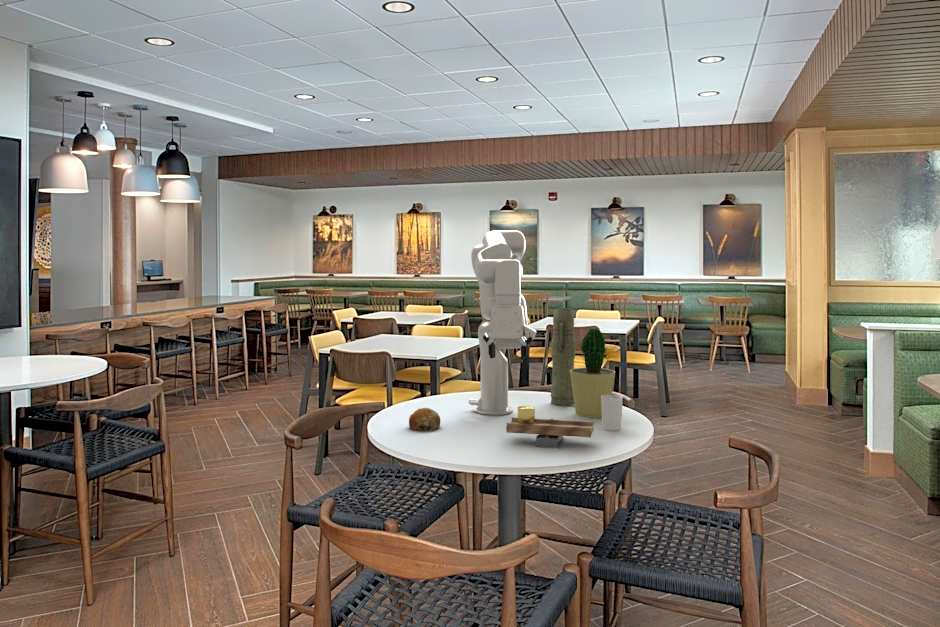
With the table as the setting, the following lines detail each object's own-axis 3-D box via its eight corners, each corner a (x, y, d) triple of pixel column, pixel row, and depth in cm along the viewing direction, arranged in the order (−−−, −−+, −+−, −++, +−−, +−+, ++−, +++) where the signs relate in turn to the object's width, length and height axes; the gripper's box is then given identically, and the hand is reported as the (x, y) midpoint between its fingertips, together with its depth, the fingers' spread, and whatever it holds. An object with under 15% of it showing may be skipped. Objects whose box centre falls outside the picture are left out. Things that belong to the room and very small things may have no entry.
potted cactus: (566, 408, 252) (567, 324, 250) (610, 409, 252) (611, 324, 249) (571, 418, 237) (572, 328, 234) (618, 418, 236) (619, 328, 234)
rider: (516, 426, 206) (516, 408, 205) (519, 422, 210) (519, 405, 210) (533, 426, 204) (533, 409, 204) (536, 423, 209) (536, 406, 209)
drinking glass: (609, 431, 218) (610, 399, 218) (596, 427, 224) (596, 395, 223) (626, 429, 221) (627, 397, 221) (613, 424, 227) (613, 394, 227)
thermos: (575, 400, 267) (576, 307, 264) (574, 406, 255) (575, 309, 253) (551, 399, 268) (552, 307, 266) (549, 406, 257) (550, 309, 254)
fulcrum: (536, 446, 201) (536, 436, 201) (543, 436, 212) (543, 426, 212) (557, 448, 199) (557, 437, 199) (563, 437, 211) (563, 427, 211)
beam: (506, 432, 204) (506, 422, 204) (512, 425, 213) (512, 416, 213) (590, 437, 198) (590, 427, 198) (593, 430, 207) (593, 420, 207)
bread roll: (443, 438, 226) (446, 413, 229) (431, 430, 217) (436, 405, 219) (414, 435, 229) (418, 411, 232) (401, 428, 220) (406, 402, 223)
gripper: (476, 301, 211) (476, 358, 212) (532, 301, 205) (532, 360, 205) (484, 300, 218) (484, 356, 219) (539, 301, 212) (539, 358, 212)
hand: (507, 358), depth 212 cm, fingers open, 9 cm apart
